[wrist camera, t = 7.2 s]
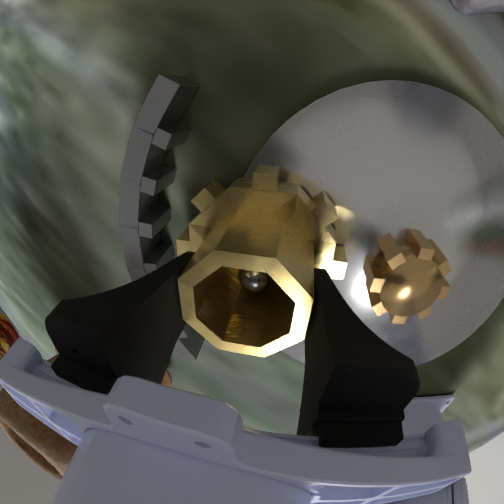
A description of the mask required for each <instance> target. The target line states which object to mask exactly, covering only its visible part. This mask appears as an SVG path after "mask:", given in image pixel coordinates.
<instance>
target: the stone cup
mask: <svg viewBox="0 0 504 504" xmlns="http://www.w3.org/2000/svg"><path fill="white" fill-rule="evenodd" d="M55 349H56V347H55ZM56 353H57V355H56V356H54V357H52V358H51V359H49V360H47V361H48V362H50V363H51V364H53V362H54V361H55V360H56V358H57V357H58V355H59V353H58V351H57V349H56ZM162 385H165V386H169V387H171V386H172V378H171V376H170V374H169V372H168V370H167V369H166V371H165V374H164V377H163V381H162ZM0 426H1V427H2V429H3V431H4V432H5V433H6V434H7V436H8V437H9V438H10V439H11V440H12V441H13V442H14V444H15V445H16V446H17V447H18V448H20V450H21V451H22V452H23V453H24V454H25V455H26V456H27V457H28V458H29V459H31V460H32V461H33V462H34V463H35V464H36V465H38V466H39V467H40V468H41V469H43V470H44V471H46V472H47V473H49V474H51V475H52V476H53V477H55V478H56V479H58V480H60V481H61V480H62V477H63V475H64V473H65V471H66V469H67V467H68V465H69V463H70V461H71V459H72V457H73V455H74V453H75V451H76V449H77V447H78V446H77V445H76V444H74V443H72V442H71V441H69V440H68V439H66V438H65V437H63V436H62V435H60V434H59V433H57V432H56V431H54V430H53V429H51V428H50V427H49V426H47V425H46V424H44V423H43V422H42V421H40V420H39V419H38V418H36V417H35V416H33V415H32V414H31V413H29V412H28V411H27V410H25V409H24V408H23V407H21V406H20V405H19V404H18V403H17V402H16V401H15V400H14V399H13V398H12V397H11V395H10V394H9V393H8V392H7V391H6V390H5V388H3V389H2V390H1V391H0Z"/></svg>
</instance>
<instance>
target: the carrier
mask: <svg viewBox="0 0 504 504" xmlns="http://www.w3.org/2000/svg"><path fill="white" fill-rule="evenodd" d="M198 88H199V87H198V86H196V85H194V84H192V83H190V82H188V81H186V80H185V79H183V78H181V77H175V76H168V75H161V74H159V75H158V77H157V78H156V80H155V82H154V84H153V86H152V88H151V90H150V92H149V94H148V95H147V97H146V99H145V101H144V103H143V105H142V108H141V110H140V112H139V114H138V116H137V118H136V120H135V122H134V125H133V128H132V131H131V135H130V139H129V143H128V147H127V151H126V155H125V159H124V163H123V168H122V173H121V178H120V208H119V226H120V232H121V238H122V244H123V249H124V254H125V260H126V265H127V269H128V271H129V274H130V277H131V279H132V282H133V281H135V280H137V279H139V278H141V277H143V276H145V275H147V274H149V273H151V272H152V271H154V270H156V269H158V268H160V267H161V266H163V265H165V264H166V263H168V262H170V261H171V259H172V258H173V257H174V249H173V244H162V243H161V240H160V230H161V229H162V228H163V227H164V226H165V225H166V224H167V223H168V222H169V221H170V220H171V208H169V207H163V206H158V203H159V192H160V191H162V190H163V189H164V188H166V187H167V186H169V185H170V184H172V183H173V182H174V178H175V174H176V169H175V168H172V167H169V166H165V165H164V162H165V159H166V155H167V152H168V149H170V148H172V147H175V146H177V145H180V144H183V143H185V142H186V140H187V138H188V136H189V133H190V131H191V129H190V128H188V127H186V126H184V125H181V124H179V121H180V119H181V117H182V115H183V114H184V112H185V110H186V108H187V107H188V105H189V103H190V101H191V100H192V98H193V96H194V95H195V93H196V91H197V90H198ZM258 165H269V166H279V167H280V173H279V182H286V183H294V184H299V185H300V186H301V188H302V189H303V190H304V191H305V193H306V194H307V195H308V196H309V198H310V199H311V198H313V197H314V196H315V195H317V194H318V193H320V192H321V191H322V190H323V191H324V192H325V194H326V195H327V196H328V197H329V199H330V200H331V201H332V203H333V204H334V205H335V208H336V212H337V216H338V219H336V220H335V221H333V222H332V223H331V226H332V227H333V228H334V233H335V239H336V246H342V247H344V248H345V253H346V258H347V267H346V270H345V274H344V278H343V280H340V279H332V278H331V279H332V281H333V282H334V284H335V286H336V287H337V289H338V290H339V292H340V294H341V295H342V297H343V298H344V300H345V301H346V302H347V304H348V305H349V306H350V308H351V309H352V310H353V312H354V313H355V314H356V315H357V316H358V317H359V318H360V319H361V320H362V322H363V323H364V324H365V325H366V326H367V327H368V328H369V329H371V330H372V331H373V332H374V333H375V334H376V335H377V336H378V337H380V338H381V339H382V340H383V341H385V342H386V343H387V344H389V345H390V346H392V347H393V348H394V349H396V350H397V351H399V352H401V353H402V354H404V355H406V356H407V357H409V358H411V359H412V360H413V361H414V364H415V366H419V365H421V364H424V363H426V362H429V361H431V360H433V359H435V358H437V357H439V356H441V355H443V354H445V353H446V352H448V351H450V350H451V349H453V348H454V347H456V346H457V345H459V344H460V343H462V342H463V341H464V340H465V339H467V338H468V337H469V336H470V335H472V334H473V333H474V332H475V331H476V330H477V329H478V328H479V327H480V326H481V325H482V324H483V323H484V322H485V321H486V320H487V319H488V317H489V316H490V315H491V314H492V313H493V311H494V310H495V309H496V307H497V306H498V304H499V303H500V302H501V300H502V299H503V297H504V139H503V137H502V136H501V134H500V133H499V132H498V130H497V129H496V128H495V127H494V125H493V124H492V123H491V122H490V121H489V120H488V119H487V118H486V117H485V116H484V115H483V114H482V113H481V112H479V111H478V110H477V109H476V108H474V107H473V106H472V105H470V104H469V103H467V102H466V101H464V100H463V99H461V98H460V97H458V96H456V95H453V94H451V93H449V92H447V91H445V90H443V89H440V88H437V87H434V86H430V85H426V84H423V83H419V82H412V81H400V80H384V81H373V82H365V83H361V84H357V85H354V86H350V87H346V88H343V89H340V90H337V91H335V92H333V93H331V94H328V95H326V96H324V97H322V98H320V99H318V100H316V101H314V102H312V103H311V104H309V105H308V106H306V107H305V108H303V109H302V110H300V111H299V112H297V113H296V114H294V115H293V116H292V117H291V118H290V119H289V120H287V121H286V122H285V123H284V124H283V125H282V126H281V127H280V128H279V129H278V130H277V131H276V132H274V133H273V134H272V136H271V137H270V138H269V139H268V141H267V142H266V143H265V144H264V146H263V147H262V148H261V149H260V151H259V152H258V153H257V154H256V156H255V157H254V159H253V161H252V163H251V164H250V166H249V168H248V169H247V171H246V173H245V175H244V176H243V178H249V179H253V172H254V170H255V169H256V168H257V166H258ZM238 280H239V283H240V285H241V286H242V287H243V288H244V289H245V290H247V291H249V292H253V293H257V292H261V291H264V290H265V289H267V288H268V286H269V285H270V283H271V281H272V277H271V276H270V275H269V274H268V273H264V272H257V271H250V270H244V269H239V271H238ZM204 339H205V338H204V337H203V336H202V335H201V334H199V333H198V332H197V331H196V330H195V329H194V328H192V327H191V326H190V325H189V324H188V323H186V325H185V327H184V329H183V331H182V333H181V334H180V336H179V338H178V340H177V342H176V345H175V347H174V349H173V351H174V352H175V353H176V354H177V355H178V357H179V358H180V359H181V360H182V361H183V362H185V361H192V360H196V359H197V356H198V354H199V351H200V349H201V346H202V344H203V341H204ZM281 351H283V352H284V353H286V354H288V355H289V356H291V357H293V358H294V359H296V360H298V361H300V362H303V363H305V343H304V340H302V341H300V342H298V343H296V344H293V345H291V346H289V347H287V348H284V349H282V350H281Z"/></svg>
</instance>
